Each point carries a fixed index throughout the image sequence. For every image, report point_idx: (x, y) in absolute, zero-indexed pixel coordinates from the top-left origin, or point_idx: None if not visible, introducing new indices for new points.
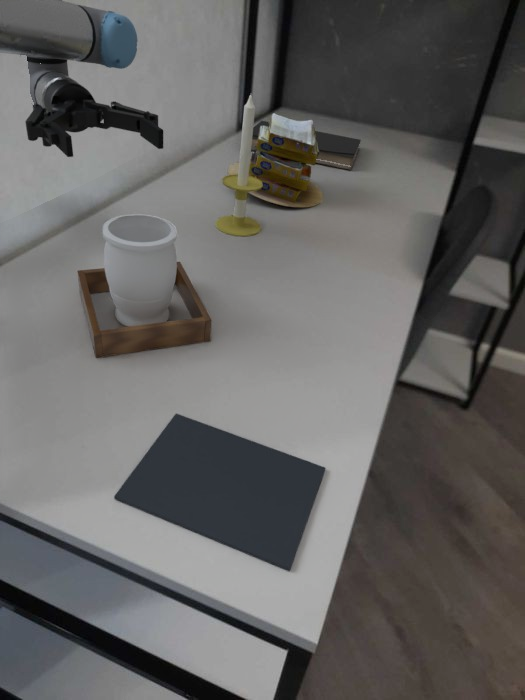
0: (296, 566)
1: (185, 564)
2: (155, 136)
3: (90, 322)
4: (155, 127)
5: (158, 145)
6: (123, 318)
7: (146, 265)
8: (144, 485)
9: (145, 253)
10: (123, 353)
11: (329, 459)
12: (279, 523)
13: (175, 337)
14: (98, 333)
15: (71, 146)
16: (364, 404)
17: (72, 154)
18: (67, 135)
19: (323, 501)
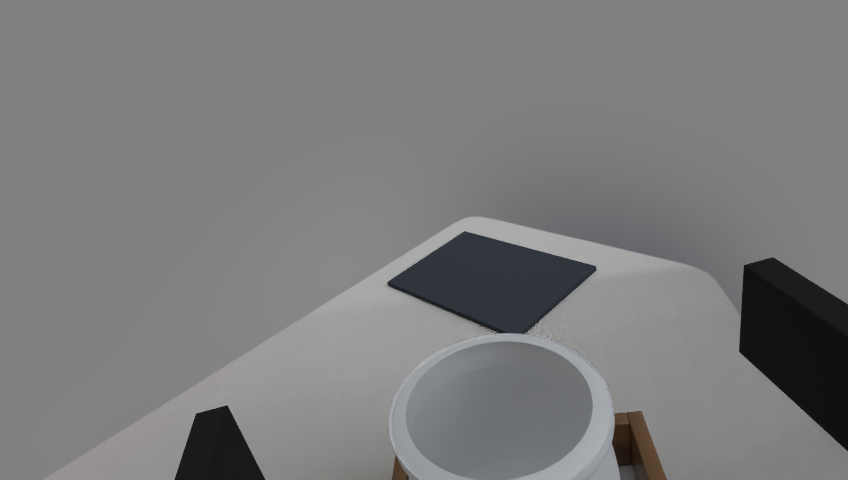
0: None
1: (539, 237)
2: (239, 475)
3: (654, 447)
4: (210, 449)
5: (258, 474)
6: None
7: (504, 378)
8: (565, 272)
9: (501, 359)
10: None
11: (375, 293)
12: (456, 250)
13: None
14: (631, 413)
15: (745, 307)
16: (283, 342)
17: (742, 341)
18: (770, 271)
19: (409, 266)
